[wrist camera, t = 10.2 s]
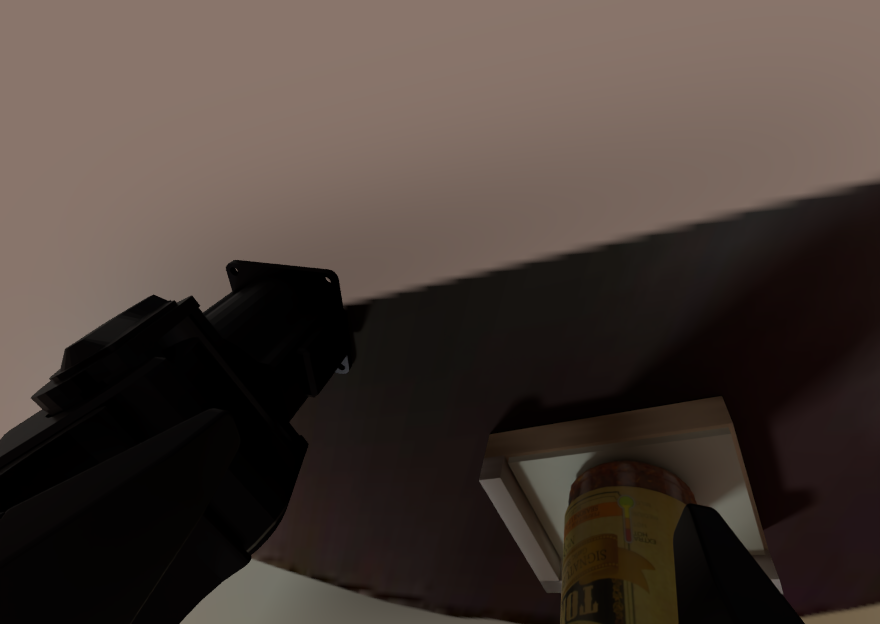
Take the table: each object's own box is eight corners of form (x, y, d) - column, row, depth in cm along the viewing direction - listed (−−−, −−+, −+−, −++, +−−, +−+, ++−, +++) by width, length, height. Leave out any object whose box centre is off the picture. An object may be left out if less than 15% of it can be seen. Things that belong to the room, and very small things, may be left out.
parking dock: (549, 542, 30) (546, 592, 27) (489, 434, 26) (479, 480, 23) (760, 532, 24) (783, 594, 22) (721, 395, 21) (743, 449, 18)
